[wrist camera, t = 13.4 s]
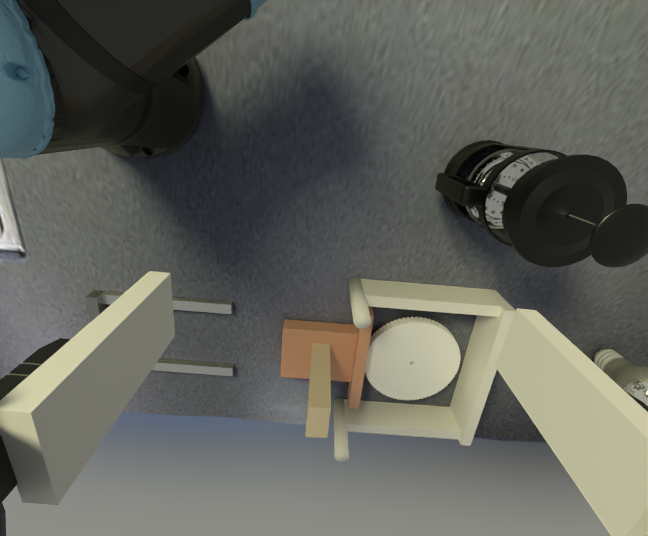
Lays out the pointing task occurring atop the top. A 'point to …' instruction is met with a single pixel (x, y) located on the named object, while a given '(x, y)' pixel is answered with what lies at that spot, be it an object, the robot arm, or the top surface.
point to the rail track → (101, 299)
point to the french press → (548, 205)
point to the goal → (472, 377)
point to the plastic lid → (412, 358)
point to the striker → (325, 364)
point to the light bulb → (624, 373)
